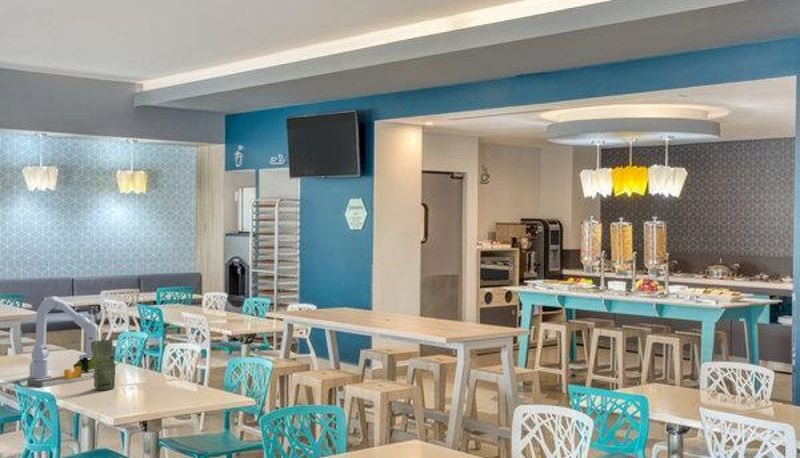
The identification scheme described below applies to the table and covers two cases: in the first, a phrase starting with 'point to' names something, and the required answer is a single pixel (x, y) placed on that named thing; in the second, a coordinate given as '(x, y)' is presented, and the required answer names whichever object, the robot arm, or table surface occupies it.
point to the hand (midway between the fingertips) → (92, 370)
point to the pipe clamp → (72, 375)
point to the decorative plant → (89, 364)
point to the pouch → (103, 364)
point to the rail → (41, 382)
